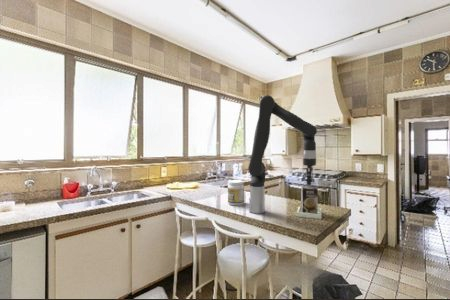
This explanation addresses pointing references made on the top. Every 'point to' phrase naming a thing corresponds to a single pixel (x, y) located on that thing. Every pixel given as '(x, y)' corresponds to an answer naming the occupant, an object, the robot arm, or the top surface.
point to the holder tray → (309, 214)
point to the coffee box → (309, 200)
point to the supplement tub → (236, 192)
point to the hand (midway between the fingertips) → (309, 183)
